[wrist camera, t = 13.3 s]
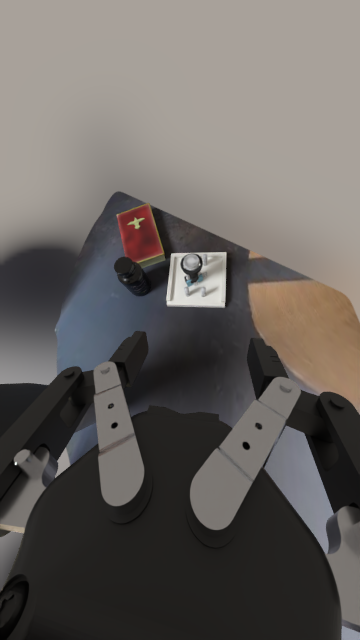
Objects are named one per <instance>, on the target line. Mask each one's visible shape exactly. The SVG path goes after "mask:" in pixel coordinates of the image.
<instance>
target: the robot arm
mask: <svg viewBox="0 0 360 640" xmlns="http://www.w3.org/2000/svg"><path fill="white" fill-rule="evenodd" d="M147 354H148V342H147V336H146V332H141V331H135V332H134V334H133V335H132V337H128V338H127V339H125V340H124V341H123V342H122V344H121V345H120V346H119V348H118V349H117V350H116V352H115V353H114V354H113V356H112V357H111V358H110V360H109V361H108V362H104V363H101V364H100V365H98V366H97V367H96V368H95V369H94V370H91V371H85V372H82V370H81V368H80V367H76V366H74V367H70V368H67V369H65V370H63V371H62V372H61V373H60V374H59V375H58V376H57V377H56V378H55V379H54V380H53V381H52V383H50V385H41V384H34V383H20V384H0V537H2V536H4V535H6V534H8V533H9V532H11V531H14V532H20V533H24V534H23V538H22V541H21V545H20V548H19V551H18V554H17V557H16V559H15V561H14V564H13V566H12V569H11V571H10V573H9V576H8V578H7V580H6V582H5V584H4V586H3V588H2V590H1V591H0V640H341V629H342V626H344V627H347V628H349V629H352V630H355V631H357V632H360V415H359V413H358V412H357V410H356V409H355V407H354V406H353V405H352V404H351V402H349V401H348V400H347V399H346V398H344V397H342V396H341V395H339V394H336V393H333V392H323V393H321V394H320V396H317V395H314V394H310V393H307V392H305V391H302V390H300V387H299V386H298V385H297V384H296V383H295V382H294V381H292V380H290V379H289V378H288V375H287V373H286V371H285V369H284V367H283V365H282V363H281V361H280V359H279V358H278V355H277V352H276V351H275V350H274V349H273V348H272V347H271V346H266V345H265V343H264V341H263V339H260V338H251V340H250V344H249V350H248V355H247V361H248V366H249V370H250V375H251V379H252V383H253V387H254V391H255V395H256V399H255V400H254V401H253V403H252V404H251V405H250V407H249V408H248V409H247V411H246V412H245V413H244V415H243V416H242V417H241V419H240V420H239V421H238V423H237V424H236V425H235V427H234V428H233V429H232V428H231V427H230V426H228V425H227V424H225V423H224V422H222V421H219V414H212V413H204V412H197V413H189V414H180V413H178V412H175V411H173V410H170V409H168V408H166V407H158V406H150V405H149V408H148V411H145V412H141V413H138V414H136V415H134V416H132V417H131V415H130V411H129V408H128V404H127V401H126V397H125V394H124V389H125V387H132V385H133V383H134V381H135V379H136V377H137V375H138V373H139V371H140V369H141V367H142V365H143V362H144V360H145V358H146V356H147ZM94 423H97V433H98V444H97V445H96V446H94V447H93V448H92V449H91V450H89V451H88V452H87V453H86V454H85V455H83V456H82V457H81V458H80V459H78V460H77V461H76V462H75V463H73V464H72V465H71V466H70V467H68V468H67V469H66V470H65V471H63V472H62V473H61V474H60V475H59V476H57V477H56V478H55V475H56V473H57V469H58V462H57V460H58V459H59V457H60V456H61V454H62V452H63V451H64V449H65V447H66V446H67V444H68V442H69V441H70V439H71V437H72V436H73V434H74V433H75V432H77V431H79V430H81V429H83V428H85V427H88V426H90V425H92V424H94ZM286 425H287V426H289V427H291V428H294V429H296V430H299V431H301V432H303V433H305V436H306V439H307V441H308V444H309V447H310V450H311V452H312V455H313V458H314V461H315V463H316V466H317V469H318V471H319V474H320V477H321V480H322V482H323V485H324V488H325V491H326V493H327V496H328V499H329V501H330V504H331V507H332V510H333V512H334V515H332V516H331V517H330V518H329V519H328V520H327V523H326V531H327V536H328V541H329V550H328V554H325V553H324V551H323V549H322V547H321V546H320V544H319V542H318V541H317V539H316V537H315V536H314V534H313V533H312V532H311V530H310V529H309V528H308V526H307V525H306V524H305V522H304V521H303V520H302V518H301V517H300V516H299V514H298V513H297V512H296V510H295V509H294V508H293V506H292V505H291V504H290V502H289V501H288V500H287V498H286V497H285V496H284V494H283V493H282V492H281V490H280V489H279V488H278V486H277V485H276V484H275V482H274V481H273V480H272V478H271V477H270V476H269V474H268V473H267V472H266V470H265V469H264V468H265V466H266V465H267V463H268V461H269V459H270V456H271V454H272V452H273V450H274V448H275V446H276V444H277V442H278V440H279V439H280V437H281V435H282V433H283V431H284V429H285V427H286Z"/></svg>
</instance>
